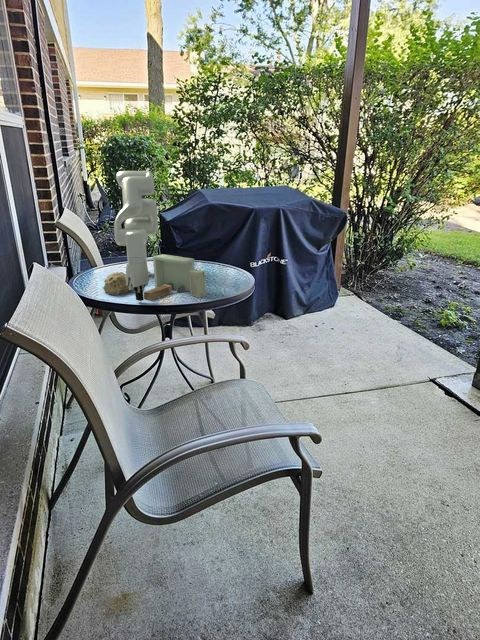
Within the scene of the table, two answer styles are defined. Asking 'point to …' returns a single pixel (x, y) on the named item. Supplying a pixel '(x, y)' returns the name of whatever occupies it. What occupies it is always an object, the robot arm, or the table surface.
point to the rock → (116, 283)
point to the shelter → (173, 271)
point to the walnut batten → (157, 292)
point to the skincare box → (197, 283)
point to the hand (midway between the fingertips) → (139, 299)
